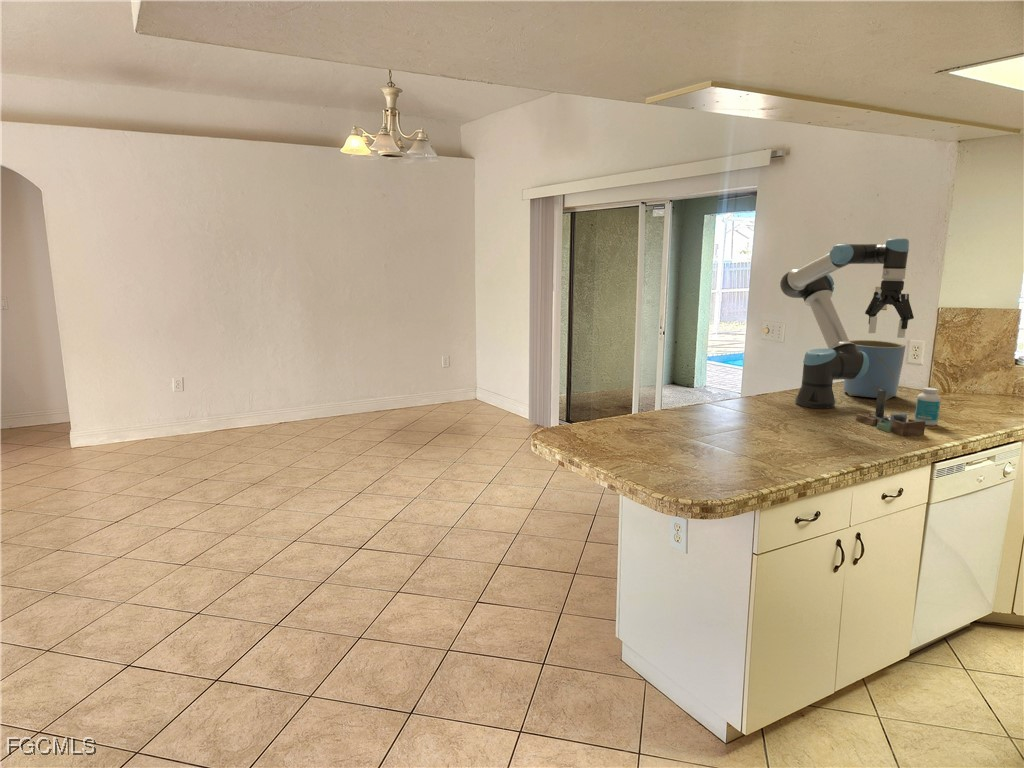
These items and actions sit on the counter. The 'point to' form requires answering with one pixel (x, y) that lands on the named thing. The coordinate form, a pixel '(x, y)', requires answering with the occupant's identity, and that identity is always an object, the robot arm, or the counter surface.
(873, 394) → the planter
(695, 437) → the counter surface
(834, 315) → the robot arm
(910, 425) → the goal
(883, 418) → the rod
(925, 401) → the pill bottle
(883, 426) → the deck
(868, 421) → the guide
